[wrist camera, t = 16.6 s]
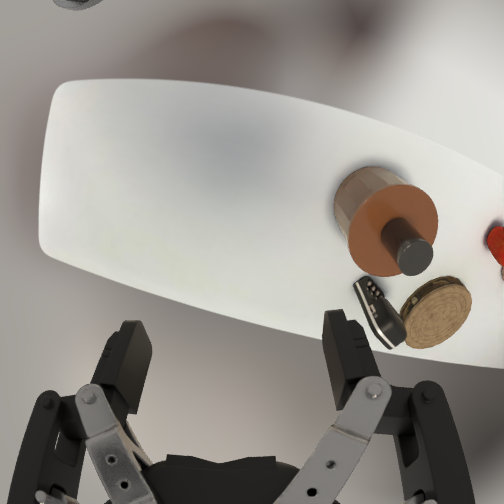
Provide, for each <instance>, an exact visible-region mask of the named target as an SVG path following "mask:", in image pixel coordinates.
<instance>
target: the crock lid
mask: <svg viewBox="0 0 504 504" xmlns="http://www.w3.org/2000/svg"><path fill="white" fill-rule="evenodd" d="M437 229H438V215H437V211H436V207H435V205H434V203H433V201H432V199H431V198H430V197H429V196H428V195H427V194H426V193H425V192H424V191H423V190H421V189H420V188H418V187H416V186H414V185H411V184H406V183H394V184H389V185H386V186H383V187H381V188H379V189H377V190H375V191H374V192H372V193H371V194H369V195H368V196H367V197H366V198H365V199H364V200H363V201H362V202H361V203H360V205H359V206H358V207H357V209H356V210H355V212H354V214H353V216H352V218H351V221H350V224H349V227H348V233H347V243H348V248H349V252H350V254H351V257H352V258H353V260H354V262H355V263H356V264H357V265H358V267H359V268H361V269H362V270H363V271H365V272H367V273H369V274H371V275H374V276H380V277H389V276H395V275H399V274H401V273H403V274H405V275H407V276H415V275H418V274H420V273H422V272H423V271H424V270H425V269H426V268H427V267H428V266H429V265H430V263H431V261H432V258H433V248H432V245H433V243H434V240H435V238H436V234H437Z"/></svg>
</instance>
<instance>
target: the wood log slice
mask: <svg viewBox="0 0 504 504" xmlns="http://www.w3.org/2000/svg"><path fill="white" fill-rule="evenodd" d="M471 304H472V299H471V294H470V292H469V291H468V290H467V289H466V287H465V286H464V285H463V284H462V283H461V282H460V280H459V279H457V278H454V277H451V276H447V277H439V278H436V279H434V280H431V281H429V282H427V283H426V284H424V285H423V286H421V287H420V288H418V289H417V290H416V291H415V292H414V293H413V294H412V295H411V296H410V297H409V298H408V299H407V301H406V303H405V304H404V306H403V307H402V309H401V311H400V314H399V316H400V317H401V319H402V322H403V324H404V326H405V329H406V331H407V337H406V339H405V342H406V344H407V345H408V346H410V347H412V348H416V349H424V348H430V347H433V346H435V345H438V344H440V343H442V342H443V341H445V340H446V339H448V338H449V337H451V336H452V335H453V334H454V333H455V332H456V331H457V330H458V329H459V328H460V327H461V326H462V324H463V323H464V322H465V320H466V319H467V316H468V314H469V312H470V310H471Z"/></svg>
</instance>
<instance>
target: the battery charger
mask: <svg viewBox="0 0 504 504" xmlns="http://www.w3.org/2000/svg"><path fill="white" fill-rule="evenodd" d="M353 287H354V289H355V292H356V294H357V296H358V299H359V301H360V304H361V306H362V309H363V311H364V314H365V316H366V318H367V321H368V323H369V326H370V328H371V330H372V332H373V333H374V335H375V336H376V337H377V338H378V339H379V340H380V341H381V342H382V344H383V345H384V346H385V347H386V348H388V349H389V350H391V349H393V348H395V347H396V346H397V345H399V344H400V343H402V342H403V341H404V340H405V339H406V337H407V331H406V329H405V326H404V324H403V322H402V319H401V317H400V316H399V314H398V313H397V312H396V310H395V309H394V308H393V307H392V305H391V304H390V303H389V301H388V300H387V299H385V298H384V294H383V292H382V291H381V290H380V289H379V287H378V286H377V285H376V284H375V283H374V281H373V280H372V279H371V278H369V277H366V278H363V279H361V280H360V281H358V282H356V284H354V286H353Z"/></svg>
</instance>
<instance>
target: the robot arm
mask: <svg viewBox="0 0 504 504" xmlns="http://www.w3.org/2000/svg"><path fill="white" fill-rule="evenodd" d="M69 1H72V0H69ZM322 341H323V342H322V343H323V350H324V354H325V359H326V363H327V368H328V372H329V377H330V381H331V386H332V391H333V395H334V400H335V405H336V410H337V411H338V410H342V412H341V413H340V415H339V417H338V418H337V420H336V421H335V423H334V424H333V425H331V427H330V428H329V429H328V430H327V432H326V434H325V435H324V436H323V438H322V439H321V441H320V442H319V444H318V445H317V447H316V448H315V450H314V451H313V453H312V454H311V455H310V457H309V458H308V460H307V461H306V462H305V464H304V465H303V467H302V468H301V469H298V468H296V467H294V466H292V465H289V464H286V463H282V462H276V457H275V456H265V457H246V458H242V459H238V460H234V461H229V462H225V463H215V462H211V461H207V460H204V459H200V458H196V457H193V456H181V455H169V454H167V458H166V460H165V461H161V462H158V463H155V464H153V463H152V461H151V460H150V459H149V458H148V456H147V455H146V454H145V452H144V451H143V449H142V447H141V445H140V443H139V442H138V440H137V438H136V436H135V434H134V433H133V431H132V429H131V427H130V425H129V423H128V421H127V420H126V419H127V415H128V414H137V411H138V407H139V402H140V398H141V394H142V391H143V387H144V383H145V379H146V375H147V371H148V368H149V364H150V361H151V357H152V345H151V342H150V340H149V337H148V335H147V333H146V330H145V328H144V326H143V323H142V322H141V321H139V320H134V321H132V320H130V321H129V320H128V321H127V320H125V321H124V322H123V323H122V326H121V328H120V331H119V332H114V333H113V335H112V336H111V337H110V338H109V339H108V341H107V343H106V345H105V348H104V350H103V353H102V356H101V358H100V360H99V362H98V365H97V367H96V370H95V373H94V375H93V377H92V380H91V382H90V384H87V385H85V386H83V387H81V388H80V389H79V391H78V392H77V393H76V395H71V396H65V397H60V396H59V395H58V393H57V392H55V391H52V390H48V391H45V392H43V393H42V394H41V395H40V396H39V397H38V398H37V400H36V403H35V406H34V408H33V412H32V414H31V417H30V420H29V423H28V426H27V429H26V432H25V435H24V438H23V441H22V445H21V448H20V451H19V455H18V458H17V462H16V466H15V470H14V474H13V478H12V482H11V487H10V491H9V496H8V501H7V504H79V503H78V501H77V494H78V488H79V482H80V476H81V471H82V466H83V461H84V456H85V451H86V447H87V450H88V452H89V455H90V457H91V460H92V462H93V464H94V467H95V469H96V471H97V473H98V476H99V478H100V480H101V482H102V484H103V486H104V488H105V490H106V492H107V494H108V496H109V498H110V499H109V500H108V501H107V502H106V503H104V504H340V503H339V502H338V501H336V500H335V498H336V497H337V496H338V494H339V493H340V491H341V490H342V488H343V486H344V485H345V483H346V482H347V480H348V478H349V477H350V475H351V473H352V472H353V470H354V469H355V467H356V465H357V463H358V462H359V460H360V458H361V456H362V455H363V453H364V451H365V449H366V447H367V445H368V443H369V441H370V439H371V437H372V435H373V433H377V434H388V435H393V437H394V442H395V447H396V452H397V458H398V463H399V468H400V474H401V480H402V486H403V493H404V500H405V502H403V503H401V504H475V499H474V494H473V490H472V485H471V480H470V476H469V472H468V468H467V464H466V460H465V457H464V453H463V449H462V446H461V442H460V439H459V436H458V432H457V429H456V426H455V423H454V420H453V417H452V414H451V411H450V408H449V405H448V402H447V399H446V397H445V394H444V391H443V389H442V388H441V386H440V385H438V384H437V383H435V382H433V381H422V382H419V383H418V384H416V386H415V387H414V388H404V387H395V386H392V385H390V384H389V383H388V382H387V381H386V380H385V379H383V378H382V377H381V375H380V373H379V370H378V367H377V365H376V362H375V359H374V356H373V353H372V350H371V348H370V346H369V342H368V340H367V337H366V334H365V332H364V329H363V327H362V326H361V325H360V324H359V323H358V322H357V321H356V320H348V321H347V319H346V316H345V313H344V311H343V309H338V310H329V311H325V314H324V324H323V333H322ZM59 432H60V434H59ZM58 434H59V437H58ZM57 437H58V442H57V445H56V441H57ZM55 445H56V449H55Z"/></svg>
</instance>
